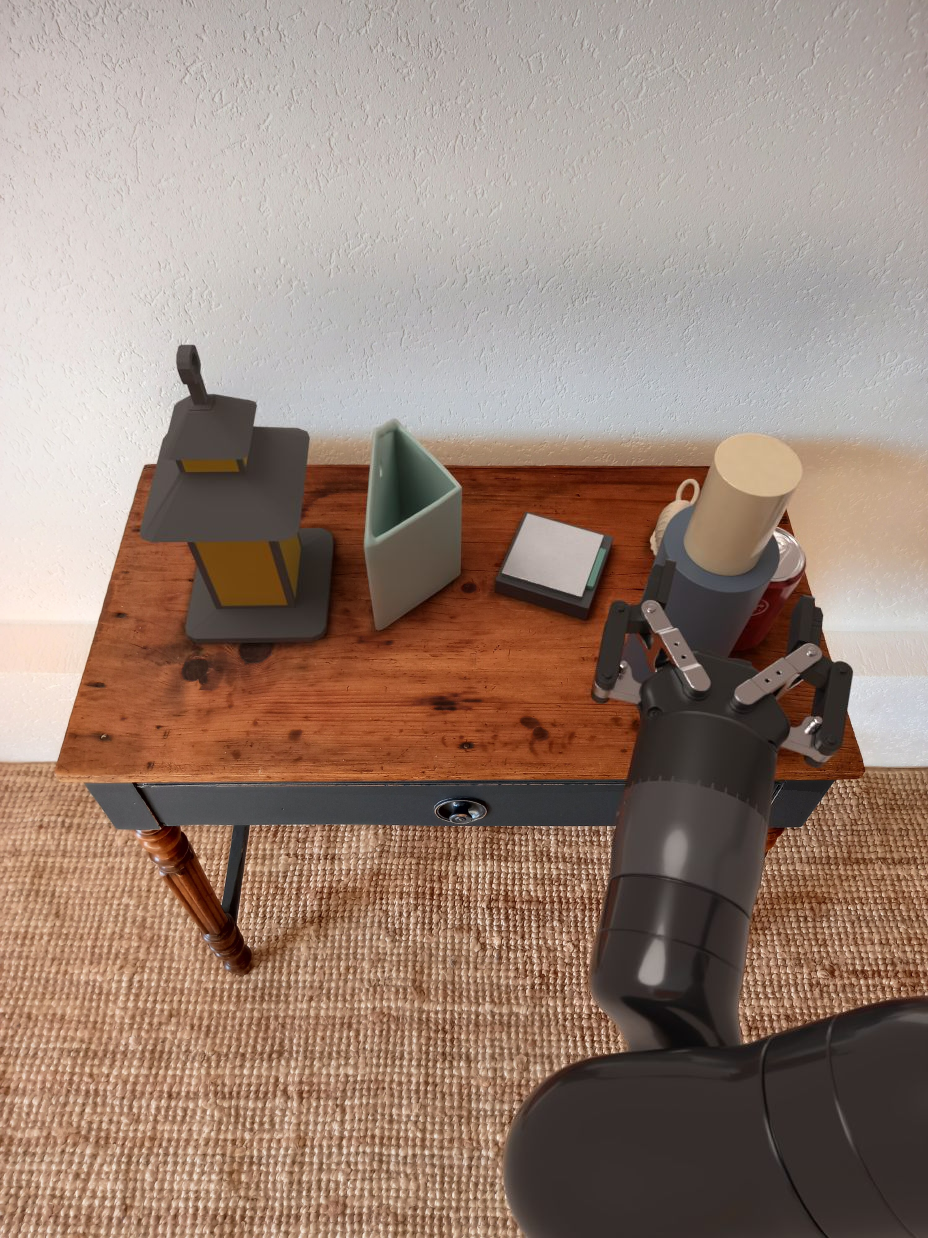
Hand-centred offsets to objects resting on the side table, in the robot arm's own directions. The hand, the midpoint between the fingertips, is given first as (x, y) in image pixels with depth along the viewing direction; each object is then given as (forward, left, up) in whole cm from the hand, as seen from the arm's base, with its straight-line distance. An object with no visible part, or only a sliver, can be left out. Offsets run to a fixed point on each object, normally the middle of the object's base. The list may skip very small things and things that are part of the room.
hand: (734, 584), depth 51 cm
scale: (+14, -18, -28) cm, 36 cm away
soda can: (-5, -18, -28) cm, 34 cm away
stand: (0, -10, -28) cm, 30 cm away
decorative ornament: (+3, -27, -28) cm, 39 cm away
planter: (+27, -13, -28) cm, 41 cm away
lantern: (+42, -5, -28) cm, 51 cm away
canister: (0, -10, -8) cm, 13 cm away
